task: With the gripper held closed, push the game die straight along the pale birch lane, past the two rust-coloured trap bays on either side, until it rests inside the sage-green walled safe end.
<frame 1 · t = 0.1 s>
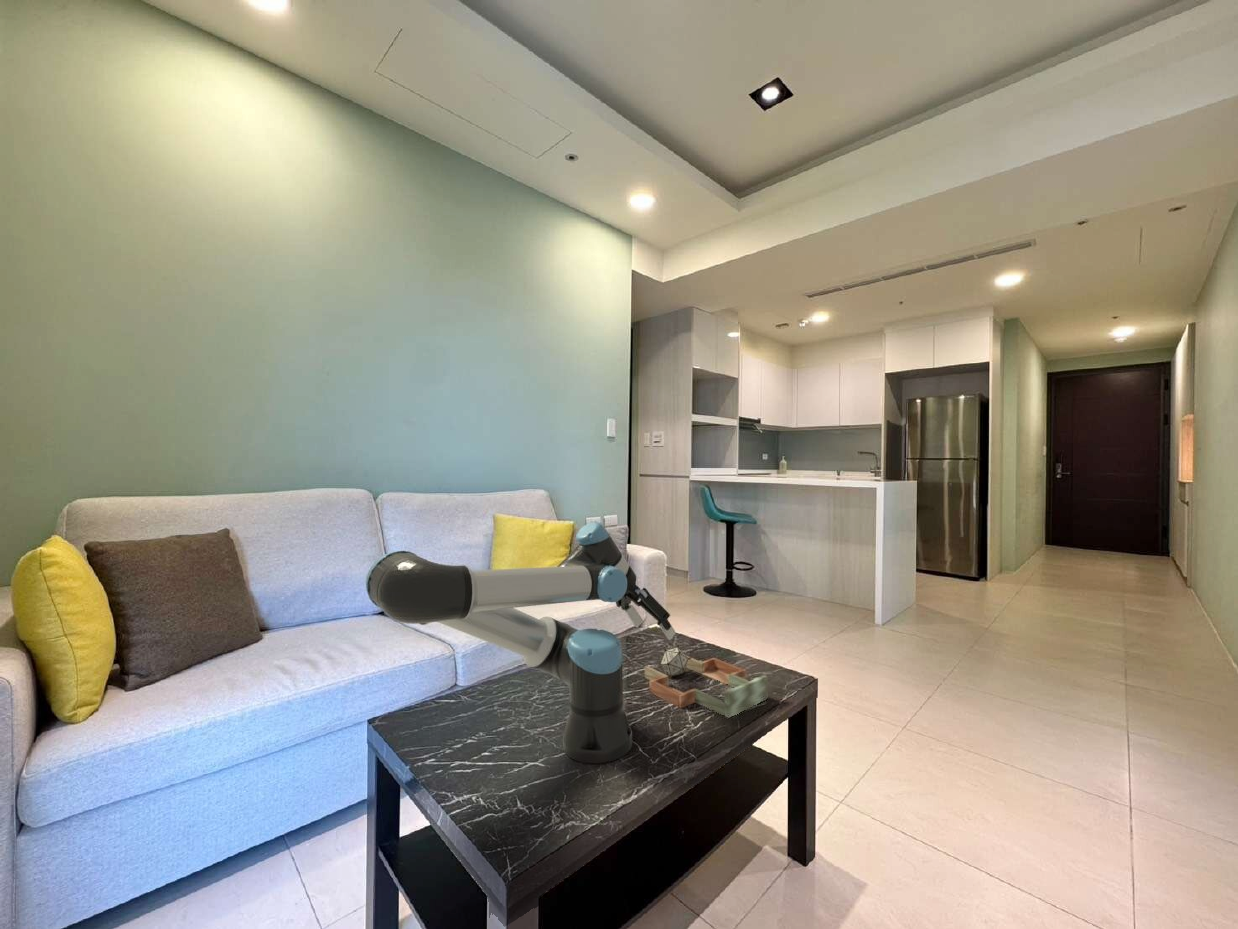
hand: (655, 629, 137), 15 cm above the table, tool tilted 35°, fingers open, 13 cm apart
game die: (674, 676, 143), on the table
trap box: (701, 687, 135), on the table
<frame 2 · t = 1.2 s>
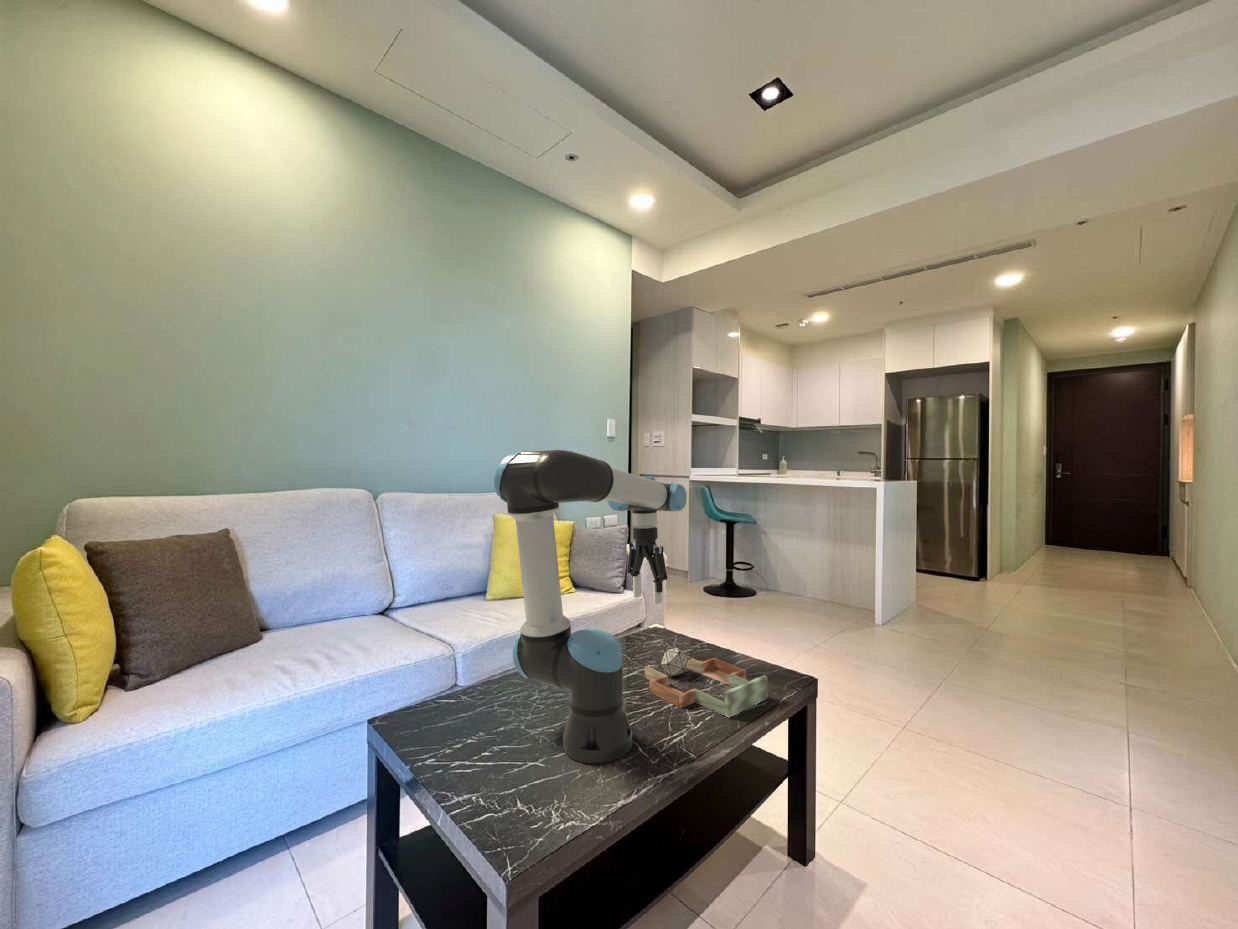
hand: (647, 599, 153), 20 cm above the table, tool pointing down, fingers open, 9 cm apart
nothing on the table moved.
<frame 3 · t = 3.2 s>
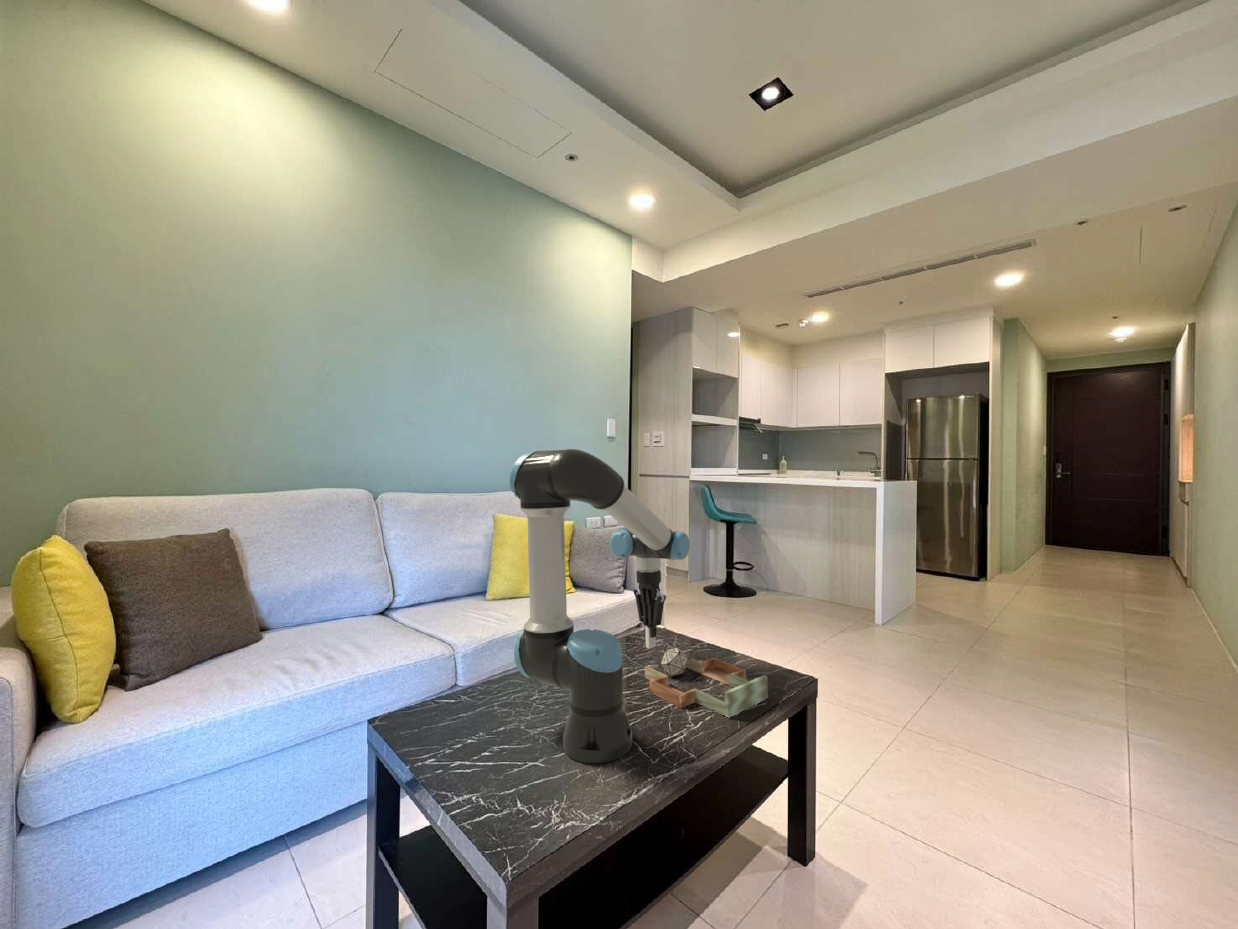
hand: (650, 647, 152), 5 cm above the table, tool pointing down, fingers closed
nothing on the table moved.
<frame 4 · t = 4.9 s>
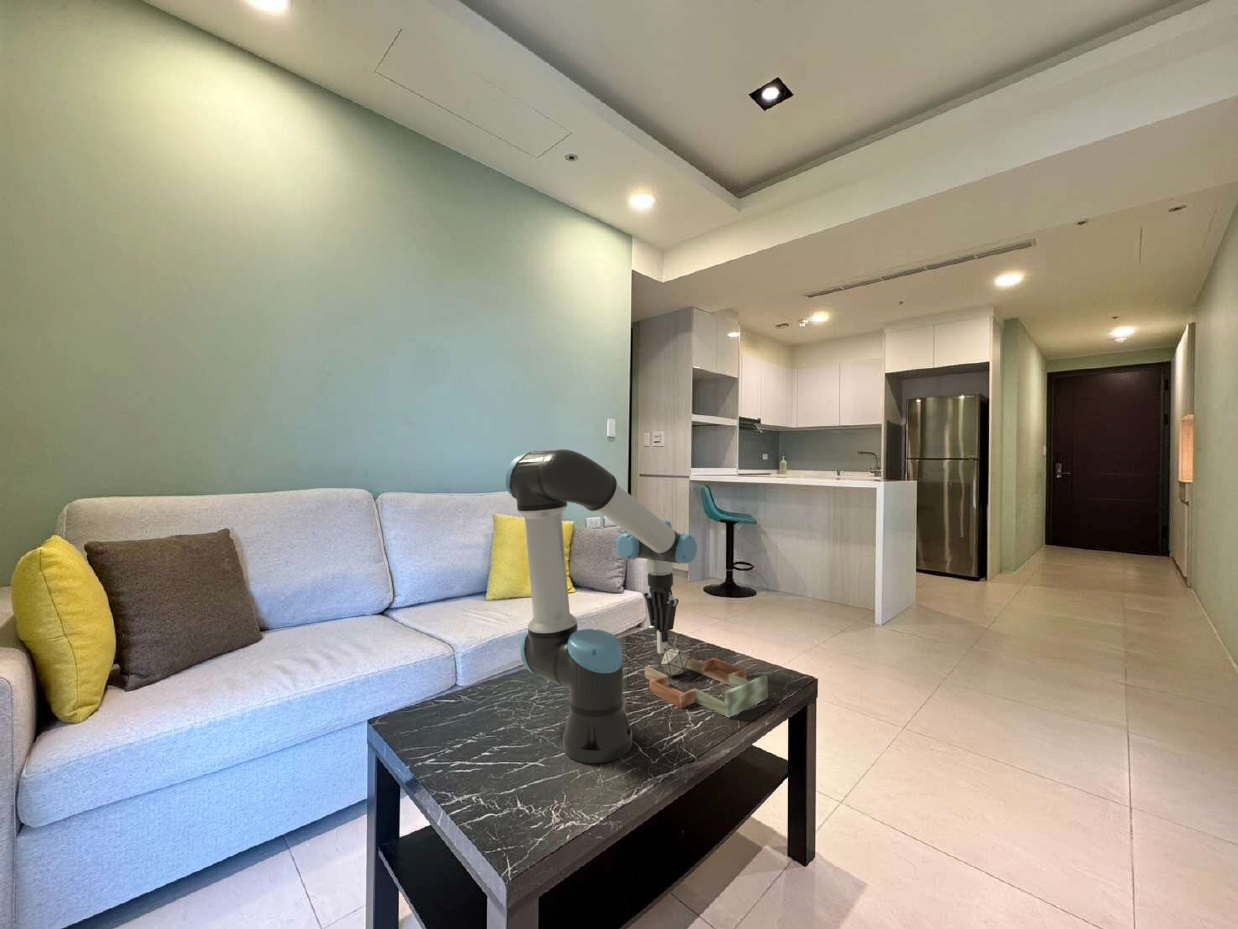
hand: (662, 652, 147), 5 cm above the table, tool pointing down, fingers closed
game die: (675, 676, 143), on the table, touching gripper
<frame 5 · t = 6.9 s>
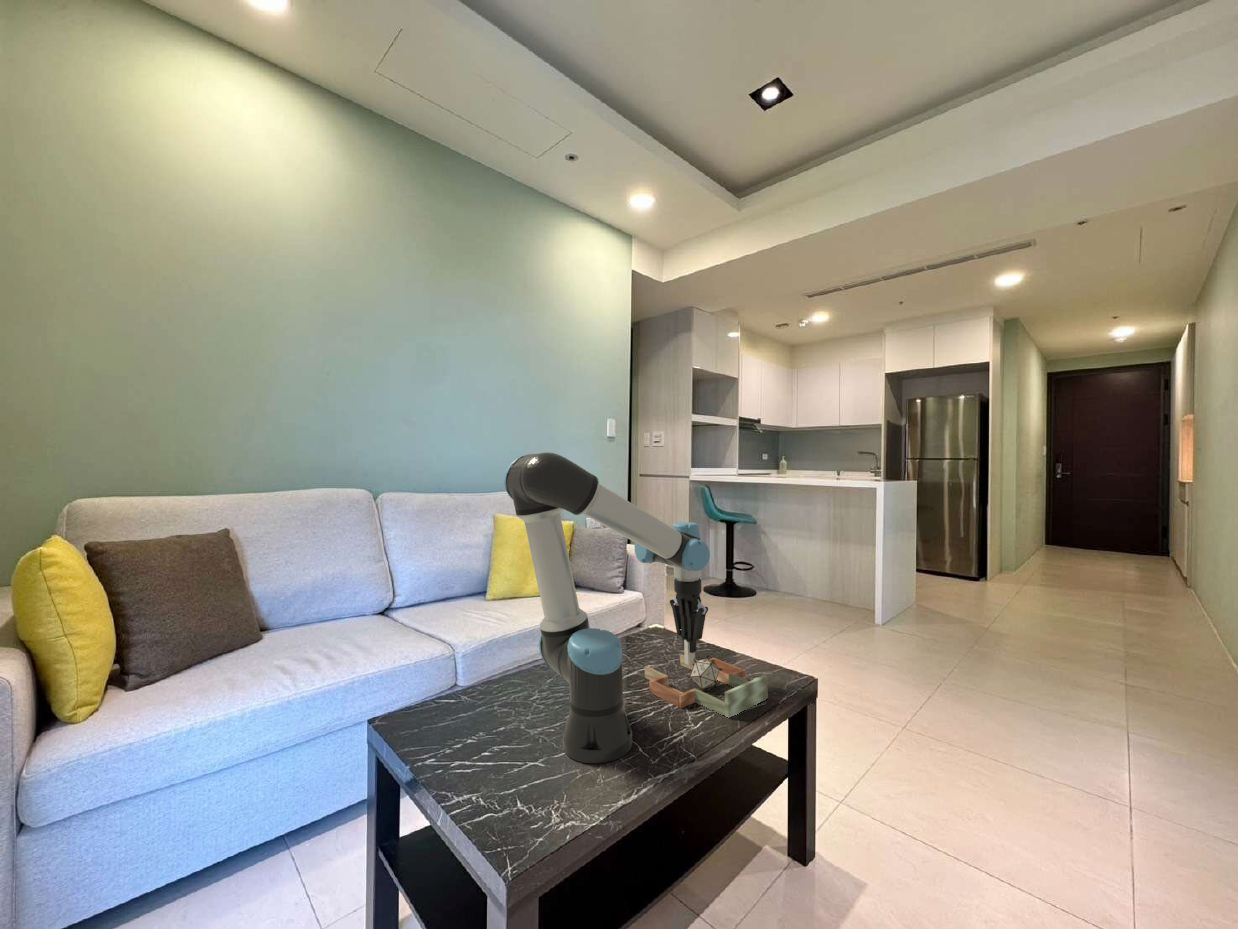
hand: (689, 663, 138), 5 cm above the table, tool pointing down, fingers closed
game die: (705, 688, 135), on the table, touching gripper
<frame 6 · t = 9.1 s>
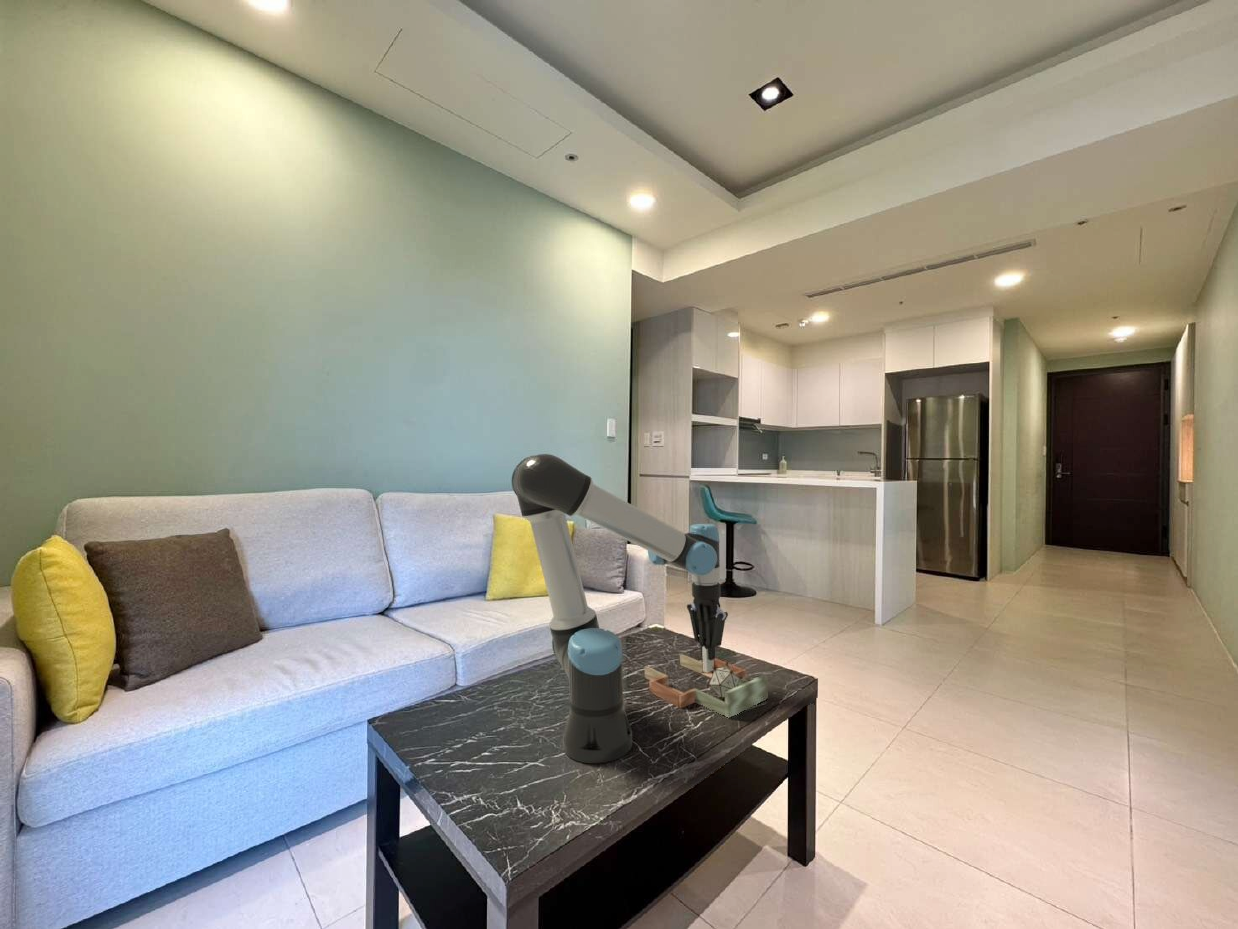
hand: (708, 670, 133), 5 cm above the table, tool pointing down, fingers closed
game die: (724, 697, 129), on the table, touching gripper
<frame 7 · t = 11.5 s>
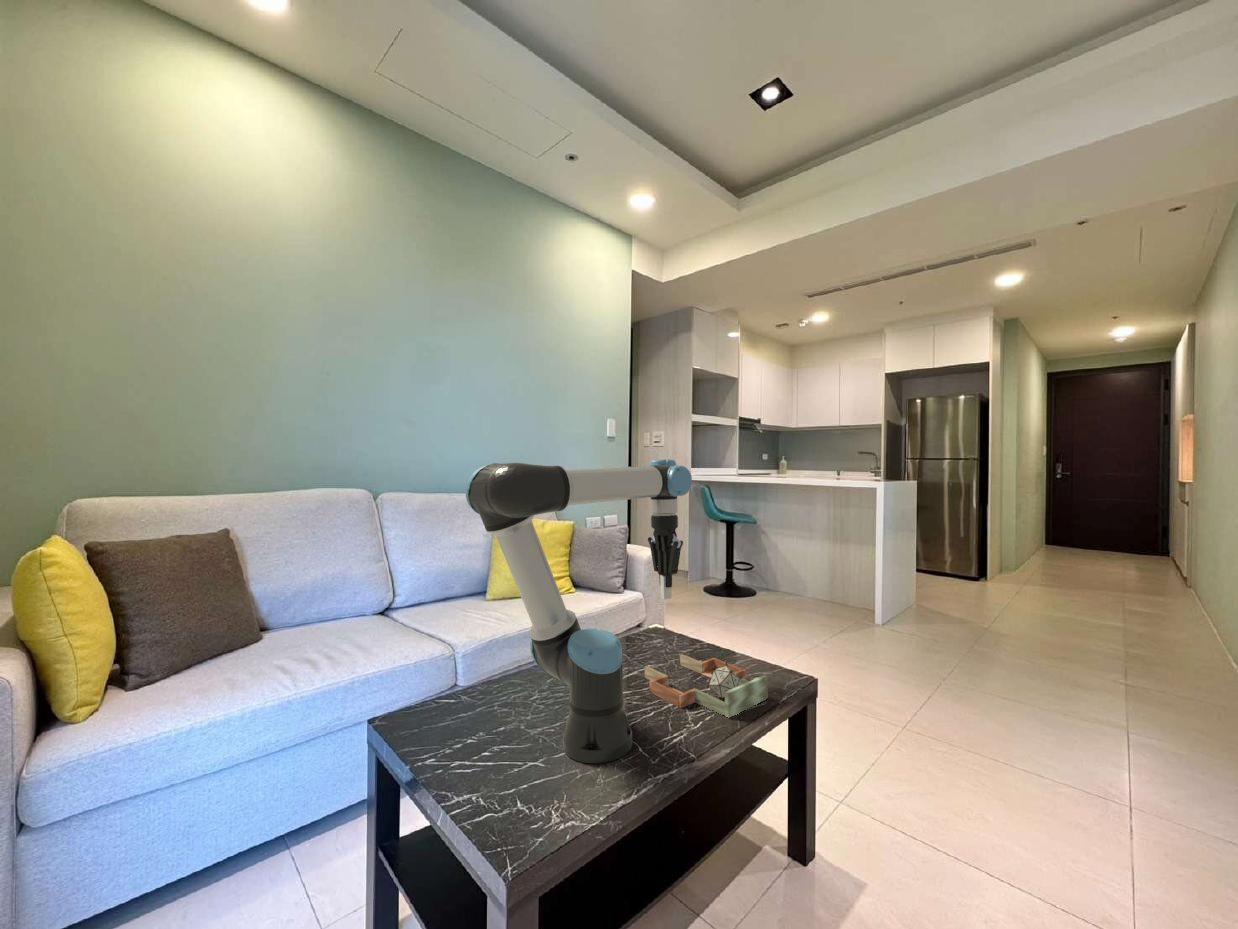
hand: (666, 598, 140), 23 cm above the table, tool pointing down, fingers closed
game die: (724, 698, 129), on the table
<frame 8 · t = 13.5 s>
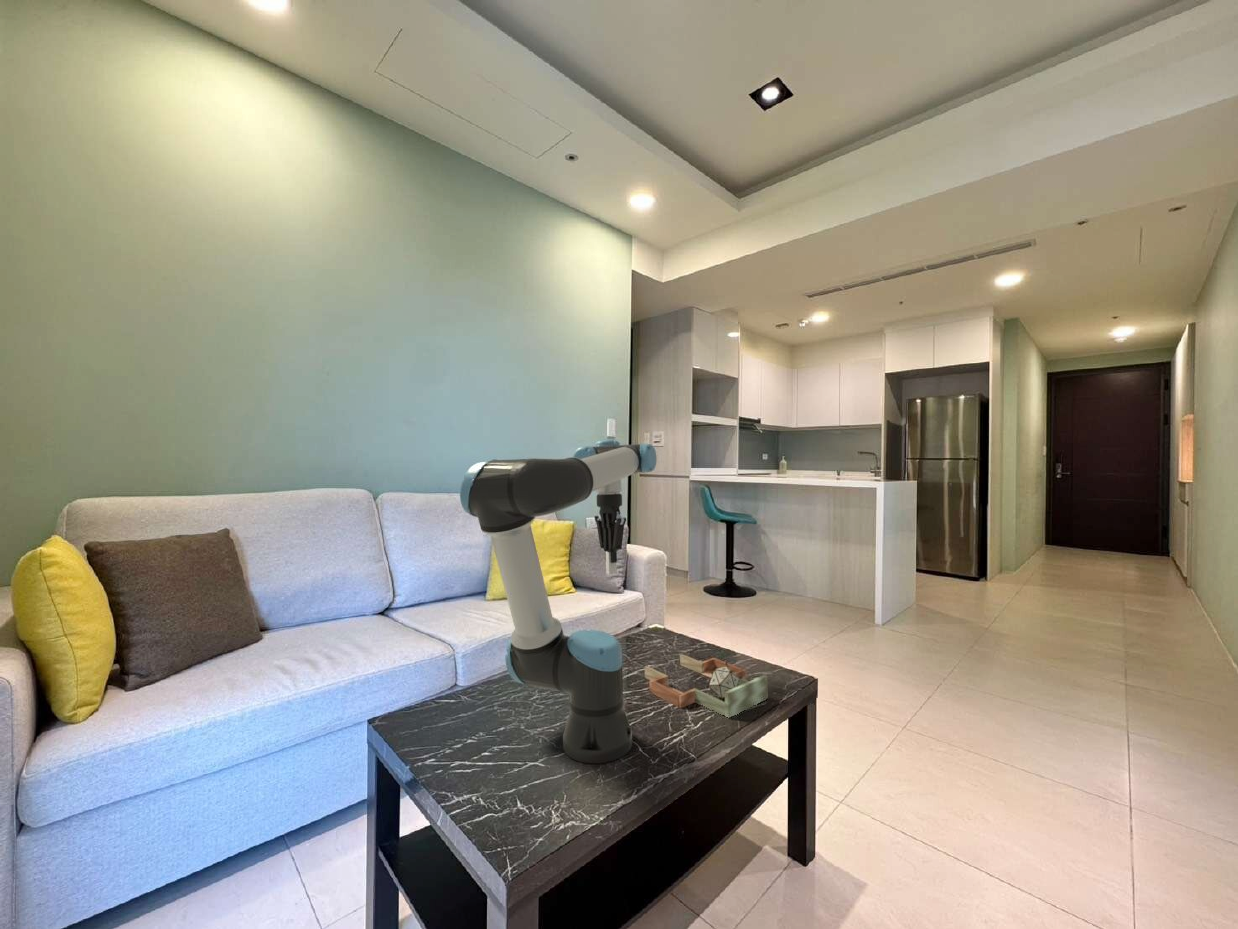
hand: (611, 573, 146), 29 cm above the table, tool pointing down, fingers closed
nothing on the table moved.
at the end: game die 1.5 cm from the target spot on the trap box, point 0.0 cm above the trap box's base; game die tilted 2°; game die moved 18.3 cm from its start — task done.
